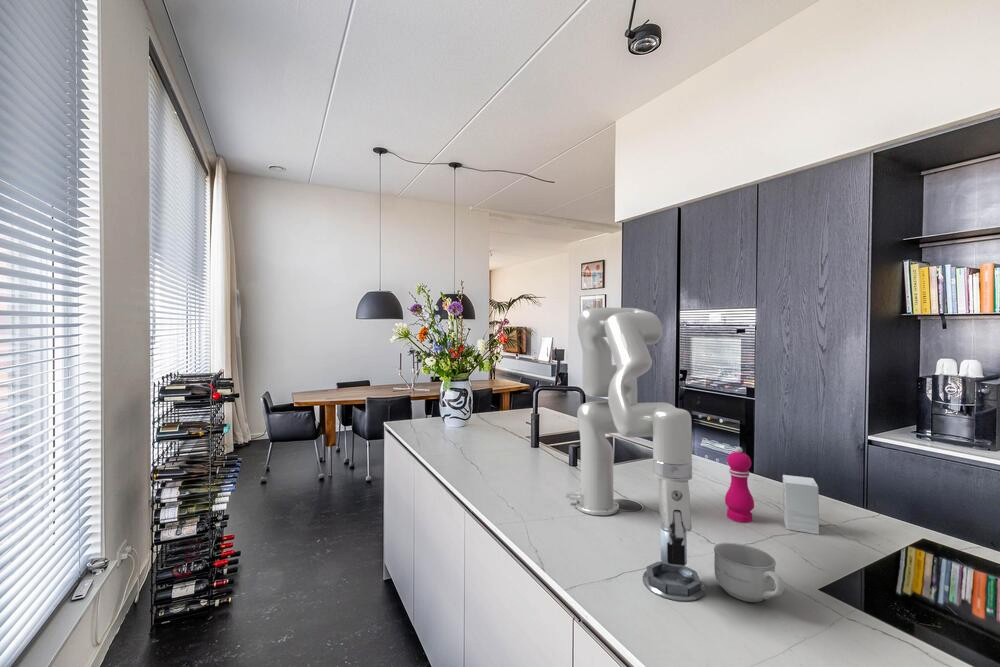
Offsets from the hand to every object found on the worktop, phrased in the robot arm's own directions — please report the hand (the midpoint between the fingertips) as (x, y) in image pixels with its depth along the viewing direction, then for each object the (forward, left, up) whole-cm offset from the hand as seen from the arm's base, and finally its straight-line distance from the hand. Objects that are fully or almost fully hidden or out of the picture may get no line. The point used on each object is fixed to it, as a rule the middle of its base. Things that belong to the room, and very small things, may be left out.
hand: (673, 555), depth 91 cm
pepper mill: (+24, +38, -6) cm, 46 cm away
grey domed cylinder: (0, 0, -1) cm, 1 cm away
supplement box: (+38, +35, -6) cm, 52 cm away
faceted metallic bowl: (0, 0, -6) cm, 6 cm away
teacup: (+14, -2, -6) cm, 15 cm away
